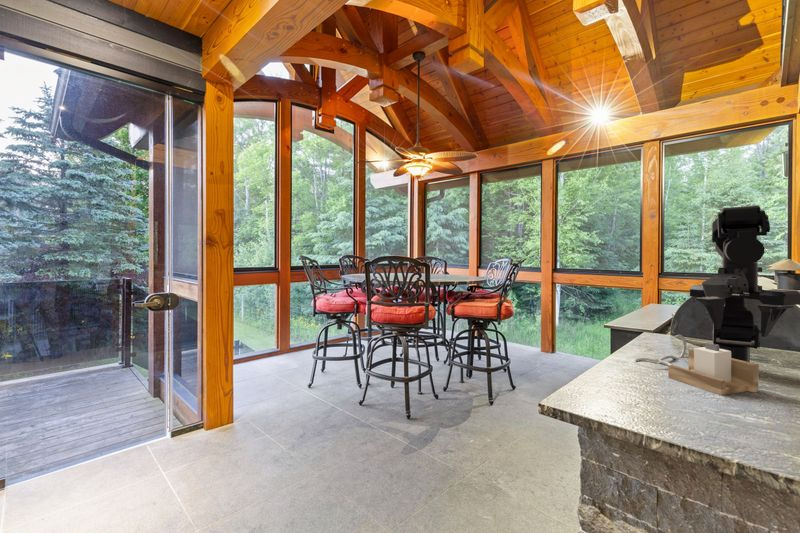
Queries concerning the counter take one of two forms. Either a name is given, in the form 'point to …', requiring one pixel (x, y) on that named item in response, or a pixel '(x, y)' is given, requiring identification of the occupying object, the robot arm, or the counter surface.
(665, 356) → the hook
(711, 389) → the board
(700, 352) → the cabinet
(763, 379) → the counter surface
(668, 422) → the counter surface
